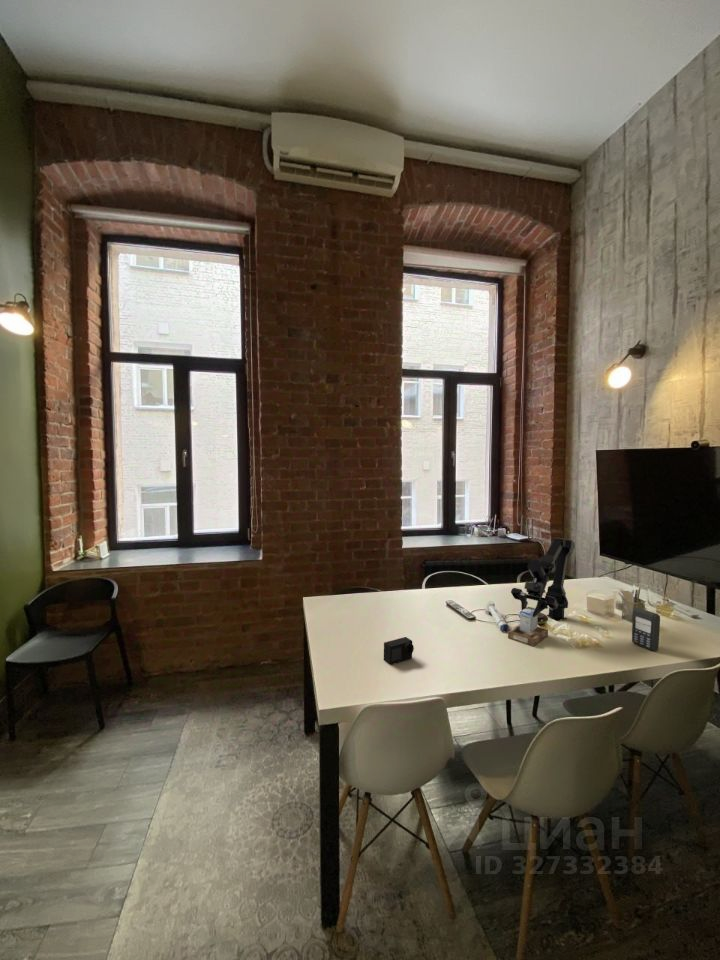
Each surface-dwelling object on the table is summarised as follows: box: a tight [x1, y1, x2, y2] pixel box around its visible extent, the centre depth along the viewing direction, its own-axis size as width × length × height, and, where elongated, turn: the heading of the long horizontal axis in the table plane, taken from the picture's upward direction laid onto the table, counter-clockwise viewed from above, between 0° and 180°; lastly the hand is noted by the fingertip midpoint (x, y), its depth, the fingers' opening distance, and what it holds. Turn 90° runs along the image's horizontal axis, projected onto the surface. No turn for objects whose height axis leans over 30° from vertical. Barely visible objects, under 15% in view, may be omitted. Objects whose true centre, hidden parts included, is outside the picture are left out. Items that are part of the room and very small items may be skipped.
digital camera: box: [383, 636, 415, 666], centre depth 152 cm, size 10×5×7 cm, turn 121°
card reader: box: [631, 607, 661, 652], centre depth 166 cm, size 9×4×15 cm, turn 23°
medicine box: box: [519, 606, 539, 633], centre depth 174 cm, size 8×4×9 cm, turn 135°
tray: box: [507, 623, 549, 648], centre depth 174 cm, size 15×11×3 cm
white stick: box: [484, 600, 510, 633], centre depth 192 cm, size 5×7×25 cm
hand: (527, 615), depth 173 cm, fingers closed on medicine box, 4 cm apart
